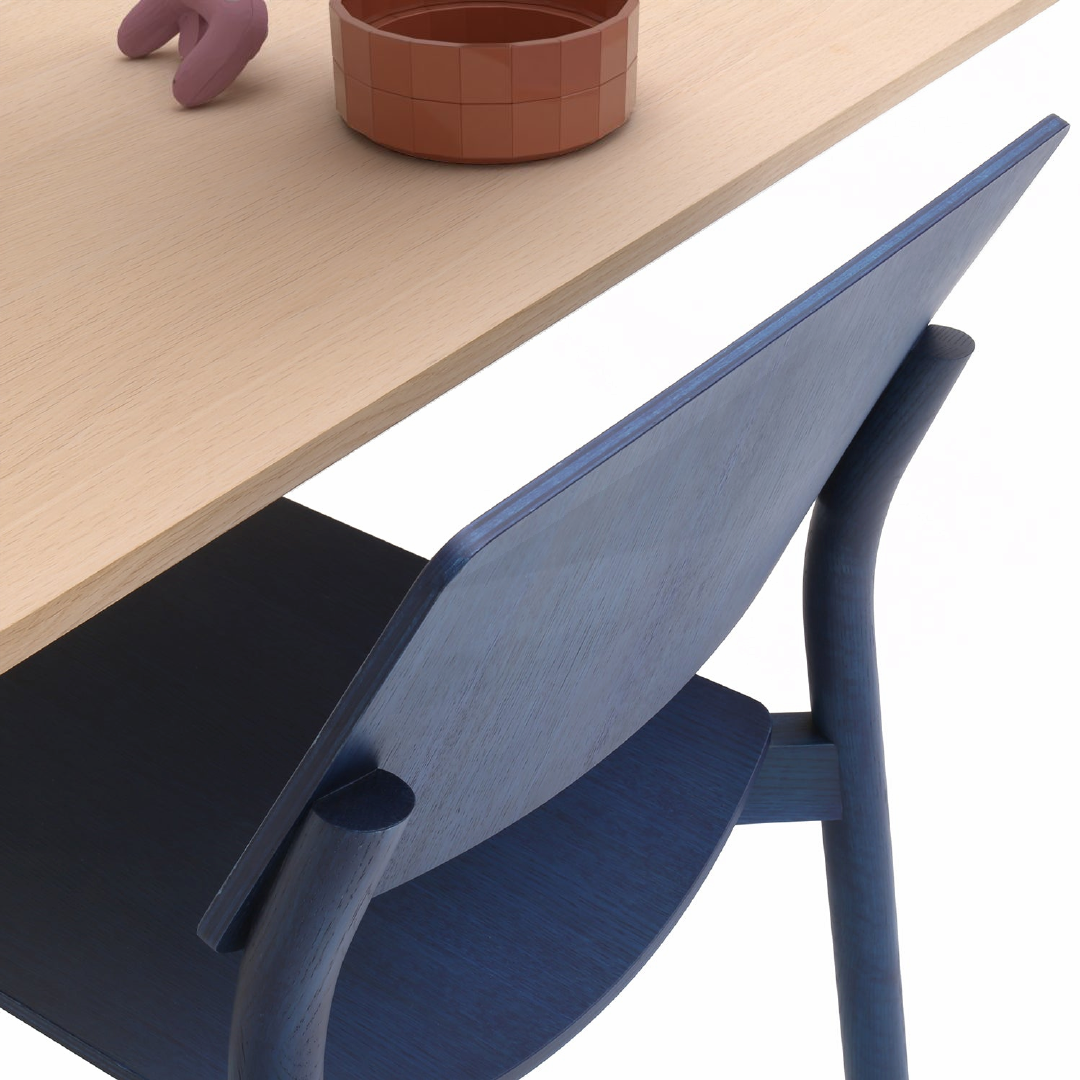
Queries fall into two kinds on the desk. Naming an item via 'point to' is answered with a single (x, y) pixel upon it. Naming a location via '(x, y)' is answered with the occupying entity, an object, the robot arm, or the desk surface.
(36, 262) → the desk surface
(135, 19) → the video game controller
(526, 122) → the bowl
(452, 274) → the desk surface
